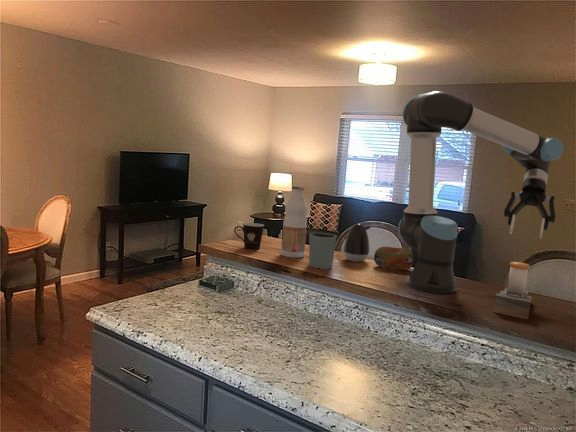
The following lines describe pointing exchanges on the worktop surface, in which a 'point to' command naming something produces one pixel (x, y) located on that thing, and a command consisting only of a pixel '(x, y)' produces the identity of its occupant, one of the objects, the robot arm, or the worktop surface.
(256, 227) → the coffee mug
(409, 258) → the tin
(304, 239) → the fruit juice
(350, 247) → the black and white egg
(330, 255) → the green tapered cup
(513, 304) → the knob mount
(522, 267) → the knob
